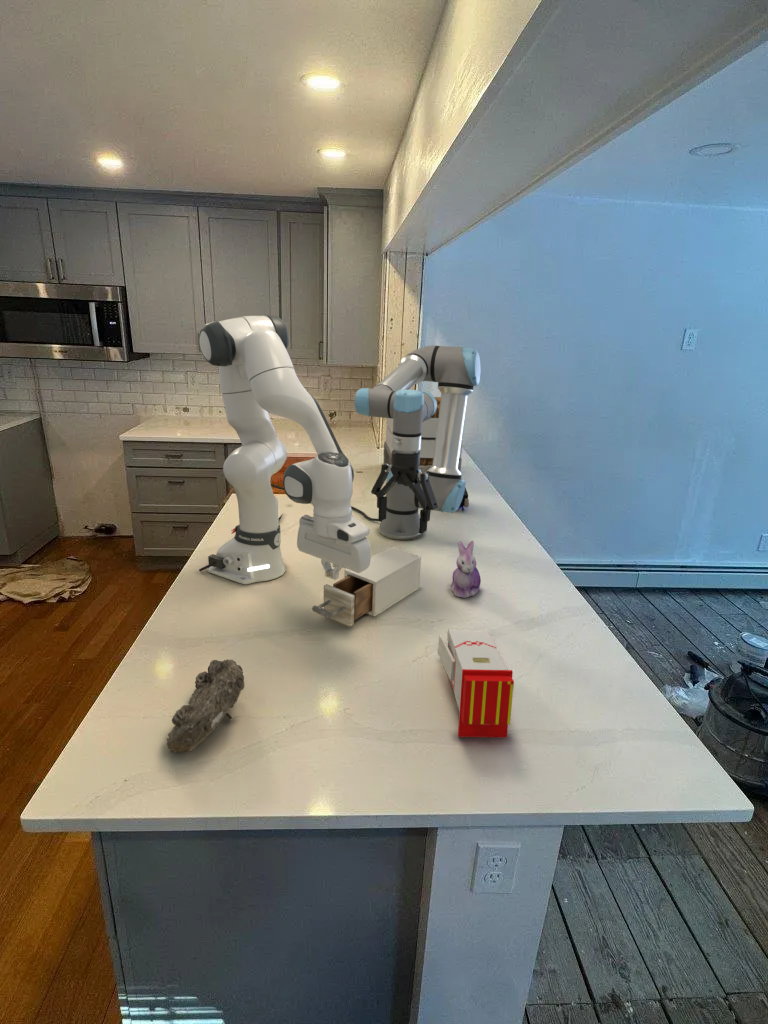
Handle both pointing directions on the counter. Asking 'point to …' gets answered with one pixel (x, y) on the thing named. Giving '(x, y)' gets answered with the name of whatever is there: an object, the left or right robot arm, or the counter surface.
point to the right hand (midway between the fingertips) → (402, 525)
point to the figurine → (466, 573)
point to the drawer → (346, 600)
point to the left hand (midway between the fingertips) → (331, 577)
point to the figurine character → (464, 500)
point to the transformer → (426, 439)
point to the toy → (478, 682)
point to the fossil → (206, 705)
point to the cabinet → (390, 577)
